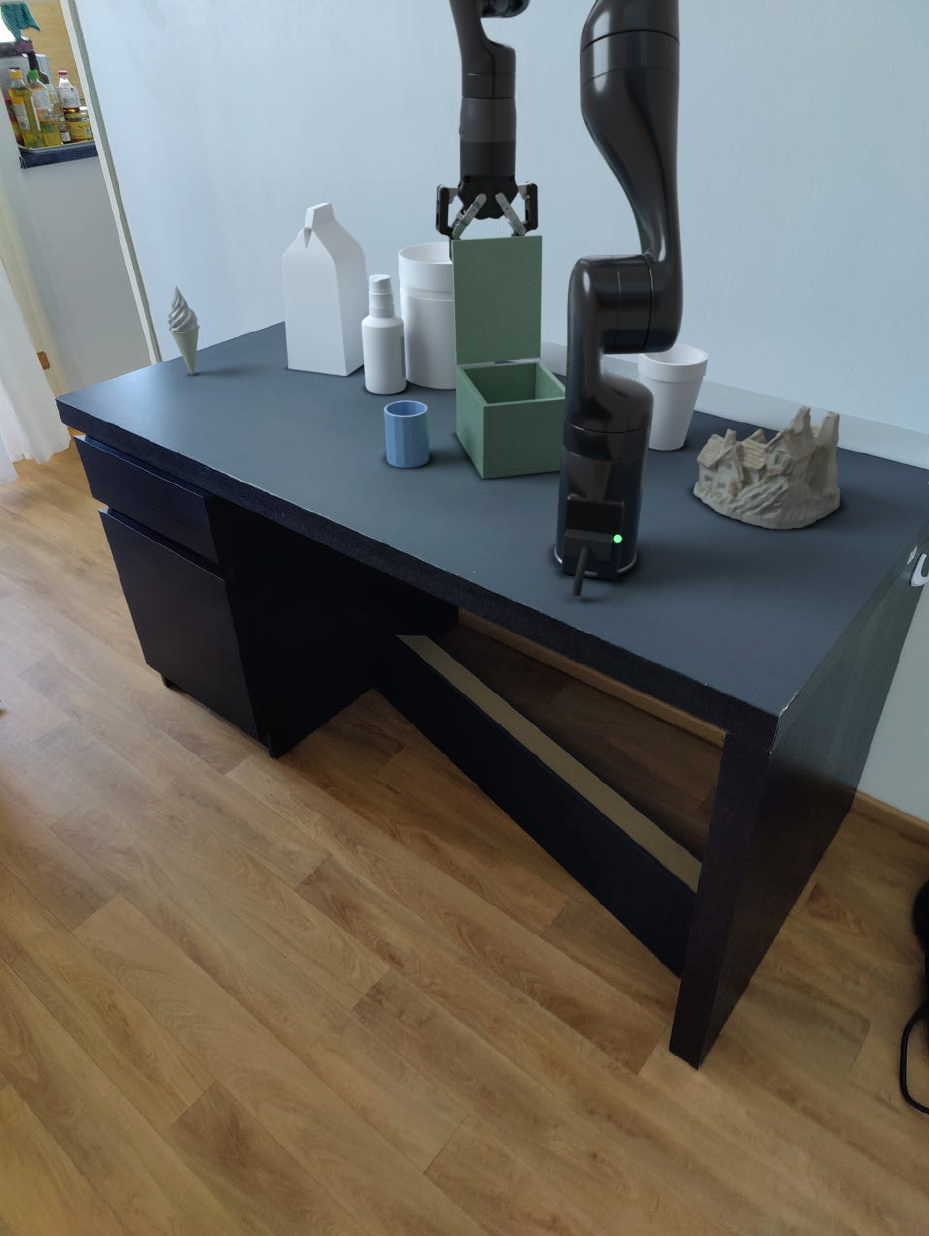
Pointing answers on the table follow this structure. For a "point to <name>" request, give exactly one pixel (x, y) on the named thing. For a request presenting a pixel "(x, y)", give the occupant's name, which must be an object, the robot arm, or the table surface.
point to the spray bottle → (383, 340)
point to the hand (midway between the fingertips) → (486, 264)
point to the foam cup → (672, 391)
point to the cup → (406, 433)
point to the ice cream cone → (184, 329)
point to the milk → (324, 296)
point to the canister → (428, 315)
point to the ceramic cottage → (773, 474)
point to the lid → (497, 298)
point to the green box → (510, 418)
